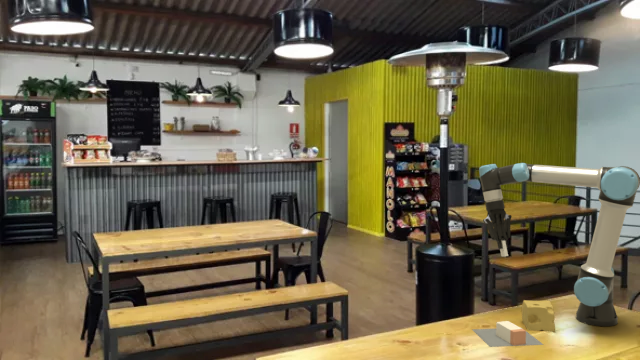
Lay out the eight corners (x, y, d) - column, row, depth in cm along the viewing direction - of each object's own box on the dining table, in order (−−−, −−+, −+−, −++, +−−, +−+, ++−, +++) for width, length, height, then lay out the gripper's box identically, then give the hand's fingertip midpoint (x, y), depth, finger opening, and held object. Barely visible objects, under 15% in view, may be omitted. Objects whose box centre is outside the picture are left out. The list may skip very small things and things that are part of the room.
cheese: (555, 333, 205) (555, 308, 204) (525, 331, 207) (526, 306, 206) (549, 324, 215) (549, 300, 214) (521, 323, 217) (521, 299, 217)
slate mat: (521, 329, 210) (521, 327, 210) (543, 346, 192) (543, 344, 192) (471, 330, 209) (471, 329, 209) (489, 348, 191) (489, 346, 191)
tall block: (508, 320, 203) (525, 330, 193) (507, 333, 204) (525, 344, 193) (496, 322, 202) (513, 331, 191) (496, 335, 202) (513, 345, 192)
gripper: (501, 200, 232) (512, 254, 229) (475, 203, 228) (486, 258, 225) (512, 197, 224) (523, 253, 222) (485, 201, 221) (496, 258, 218)
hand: (504, 256), depth 223 cm, fingers closed
